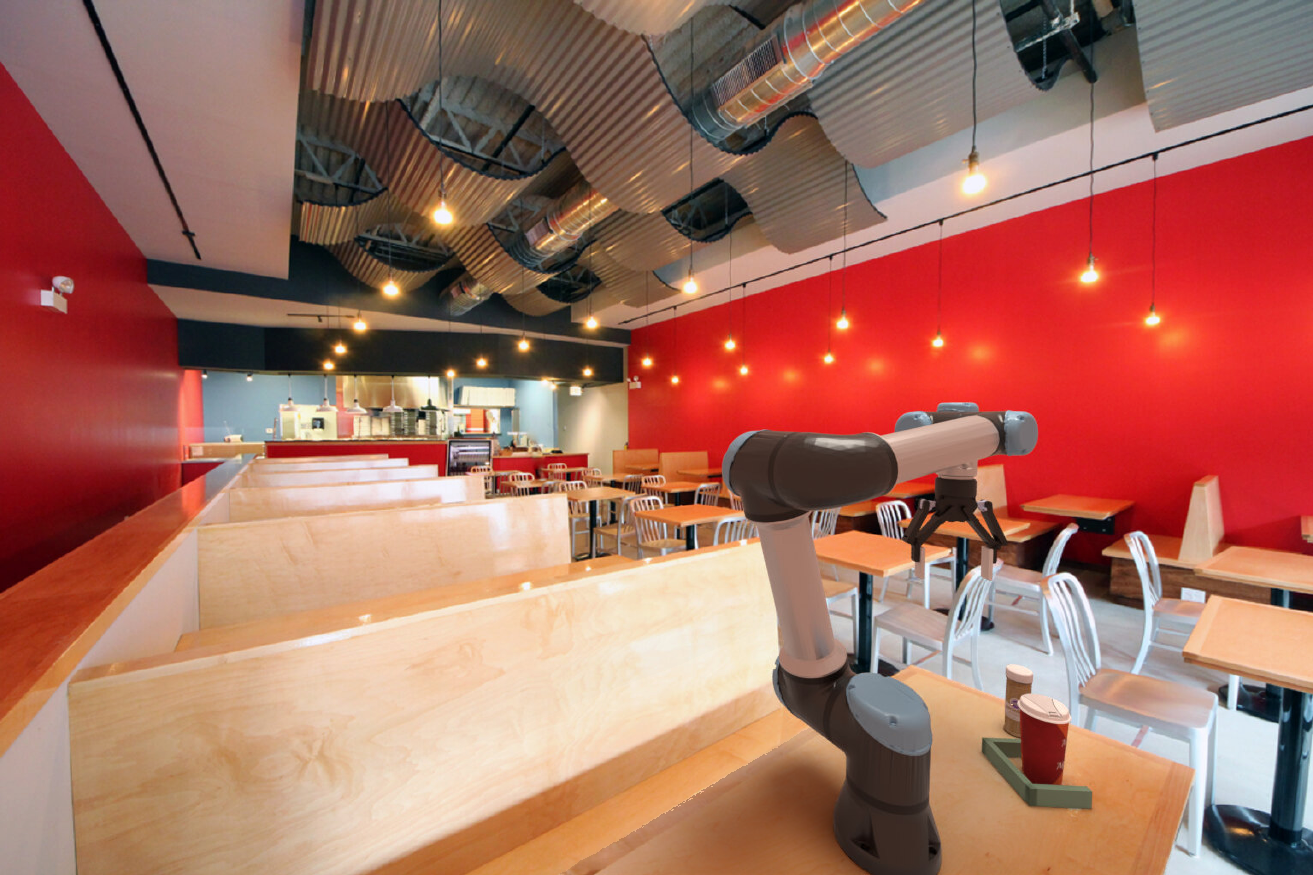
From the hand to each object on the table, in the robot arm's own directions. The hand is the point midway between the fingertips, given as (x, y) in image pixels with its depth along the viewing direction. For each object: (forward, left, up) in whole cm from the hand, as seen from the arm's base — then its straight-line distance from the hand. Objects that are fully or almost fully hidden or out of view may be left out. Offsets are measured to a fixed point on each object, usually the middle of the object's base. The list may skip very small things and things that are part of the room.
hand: (952, 578), depth 104 cm
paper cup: (+8, -15, -32) cm, 36 cm away
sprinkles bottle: (+13, -1, -32) cm, 35 cm away
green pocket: (+7, -15, -32) cm, 36 cm away
